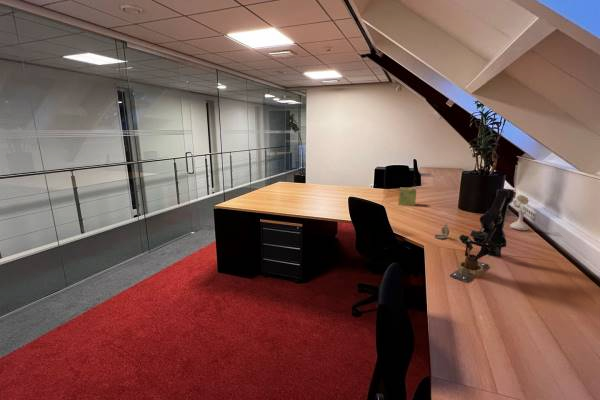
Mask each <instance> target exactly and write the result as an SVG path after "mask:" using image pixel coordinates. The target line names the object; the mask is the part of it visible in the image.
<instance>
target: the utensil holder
mask: <svg viewBox="0 0 600 400" xmlns="http://www.w3.org/2000/svg"><path fill="white" fill-rule="evenodd" d="M478 249H479V248H475V250H474V252H472V254H471V251H470V249H469V248H467V253H468V255H467V256H465V259H464V261H465V263H464V268H467V269H470V270H477V266H478V262H479V261H478V260H479V259H478V260H475V258H476V256H477V255H476V254H475V253H479V250H478Z"/></svg>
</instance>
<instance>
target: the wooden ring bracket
mask: <svg viewBox="0 0 600 400" xmlns="http://www.w3.org/2000/svg"><path fill="white" fill-rule="evenodd" d="M464 263H465V260H463V261H459V262H458V265H457V270H455V271H453V272H452V273H450V274H449V277H450V278H453V279H455V280H459V281H462V282H464V283H468V282H470V281H471V280H472V279H473V278H475V277H481V276H482V275H483V274H484V273H483V272H484V270H486V269H487V268H489V267H490V264H488V263H484V262H482V261H478V266H477V270H470V269H467V268H464Z"/></svg>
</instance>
